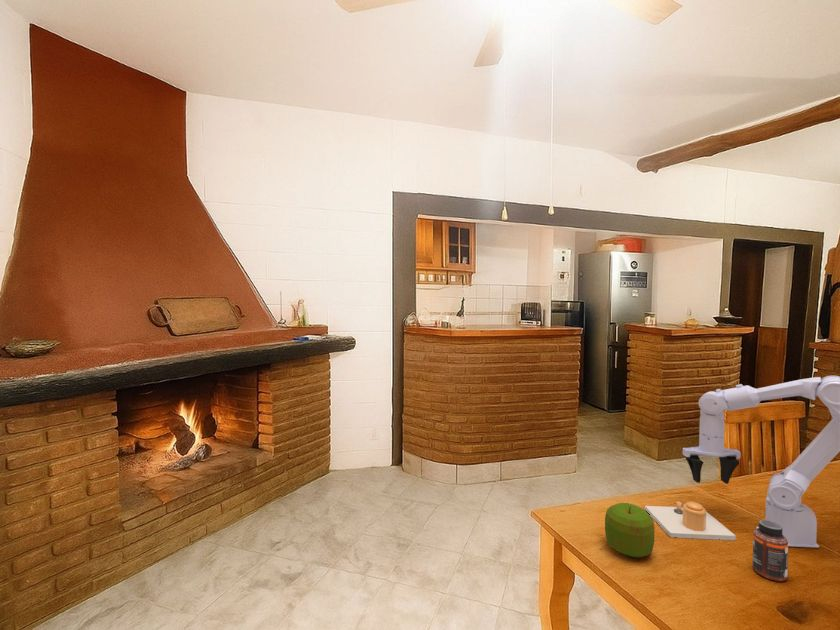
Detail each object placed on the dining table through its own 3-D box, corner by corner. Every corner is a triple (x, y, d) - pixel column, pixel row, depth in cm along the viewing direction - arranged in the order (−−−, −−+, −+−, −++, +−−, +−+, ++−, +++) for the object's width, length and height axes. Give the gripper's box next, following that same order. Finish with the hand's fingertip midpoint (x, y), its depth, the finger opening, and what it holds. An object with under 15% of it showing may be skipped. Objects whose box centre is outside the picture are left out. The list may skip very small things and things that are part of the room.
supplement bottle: (795, 582, 88) (796, 531, 87) (770, 583, 87) (771, 532, 87) (769, 564, 94) (770, 516, 93) (745, 565, 93) (746, 517, 93)
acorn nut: (698, 521, 110) (698, 500, 110) (709, 531, 105) (709, 509, 105) (679, 520, 110) (679, 499, 110) (689, 530, 105) (689, 508, 105)
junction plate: (701, 512, 117) (702, 498, 117) (735, 540, 103) (736, 524, 103) (644, 509, 118) (644, 496, 118) (670, 537, 104) (670, 522, 104)
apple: (607, 532, 107) (607, 491, 107) (654, 544, 101) (654, 502, 101) (602, 554, 97) (603, 510, 97) (653, 569, 92) (654, 523, 91)
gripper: (728, 430, 118) (727, 476, 118) (677, 429, 119) (676, 474, 119) (746, 438, 111) (745, 487, 111) (691, 437, 112) (690, 485, 112)
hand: (710, 481), depth 115 cm, fingers open, 7 cm apart
